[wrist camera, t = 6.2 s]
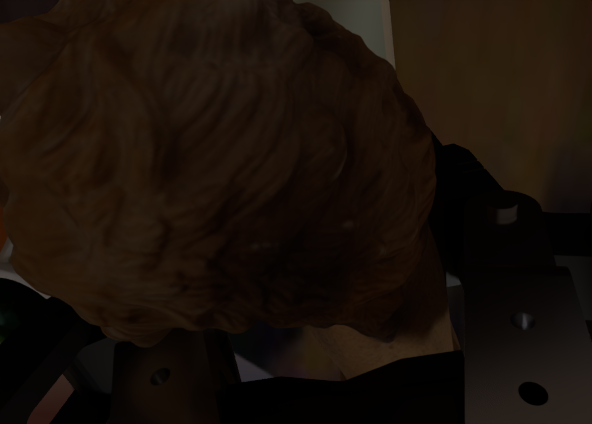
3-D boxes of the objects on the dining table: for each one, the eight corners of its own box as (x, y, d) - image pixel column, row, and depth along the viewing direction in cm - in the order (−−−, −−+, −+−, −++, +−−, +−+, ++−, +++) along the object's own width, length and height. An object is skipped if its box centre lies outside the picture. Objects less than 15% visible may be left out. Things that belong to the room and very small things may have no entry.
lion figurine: (108, 33, 11) (-362, 246, 3) (287, -109, 9) (279, -416, 1) (372, 358, 17) (440, 685, 10) (499, 307, 16) (698, 641, 8)
